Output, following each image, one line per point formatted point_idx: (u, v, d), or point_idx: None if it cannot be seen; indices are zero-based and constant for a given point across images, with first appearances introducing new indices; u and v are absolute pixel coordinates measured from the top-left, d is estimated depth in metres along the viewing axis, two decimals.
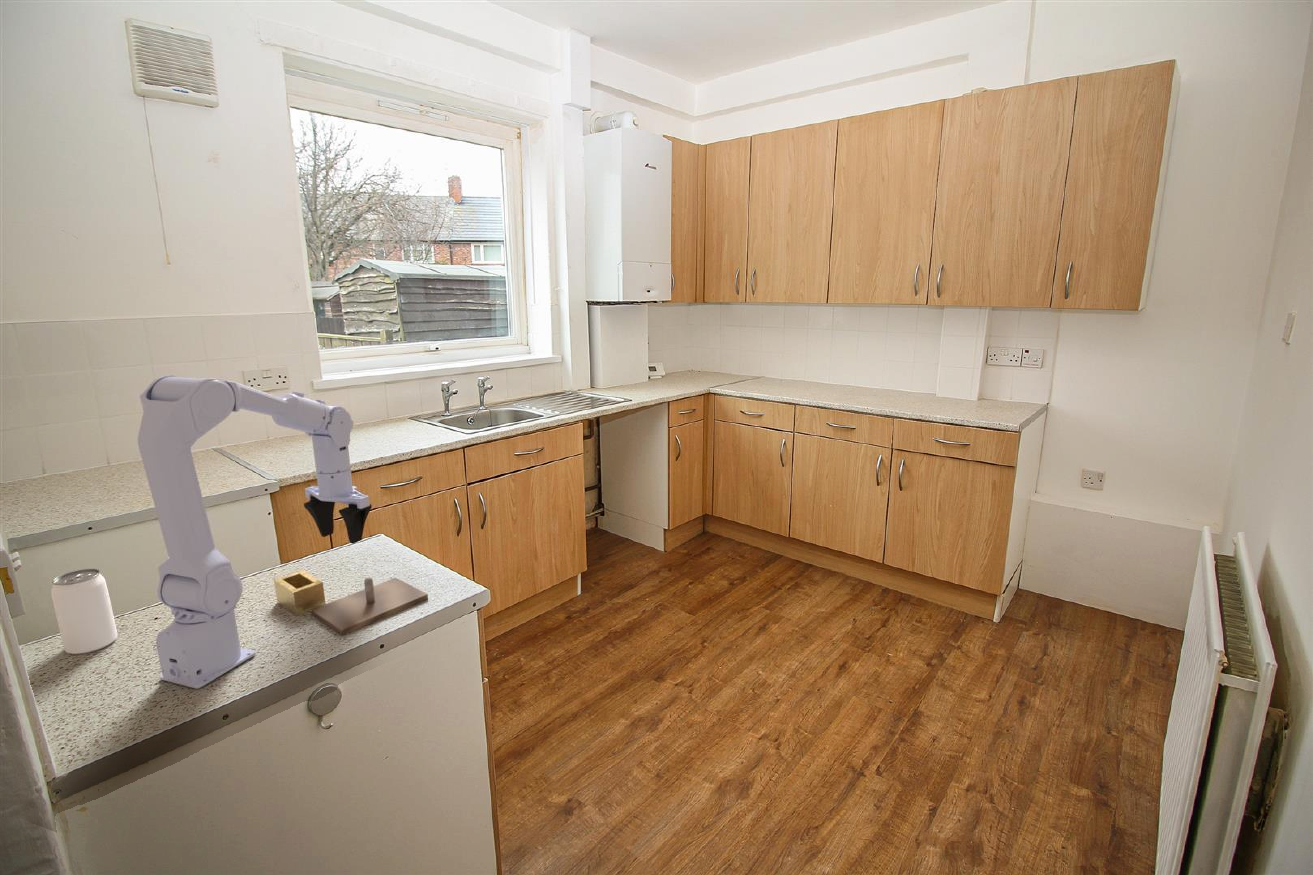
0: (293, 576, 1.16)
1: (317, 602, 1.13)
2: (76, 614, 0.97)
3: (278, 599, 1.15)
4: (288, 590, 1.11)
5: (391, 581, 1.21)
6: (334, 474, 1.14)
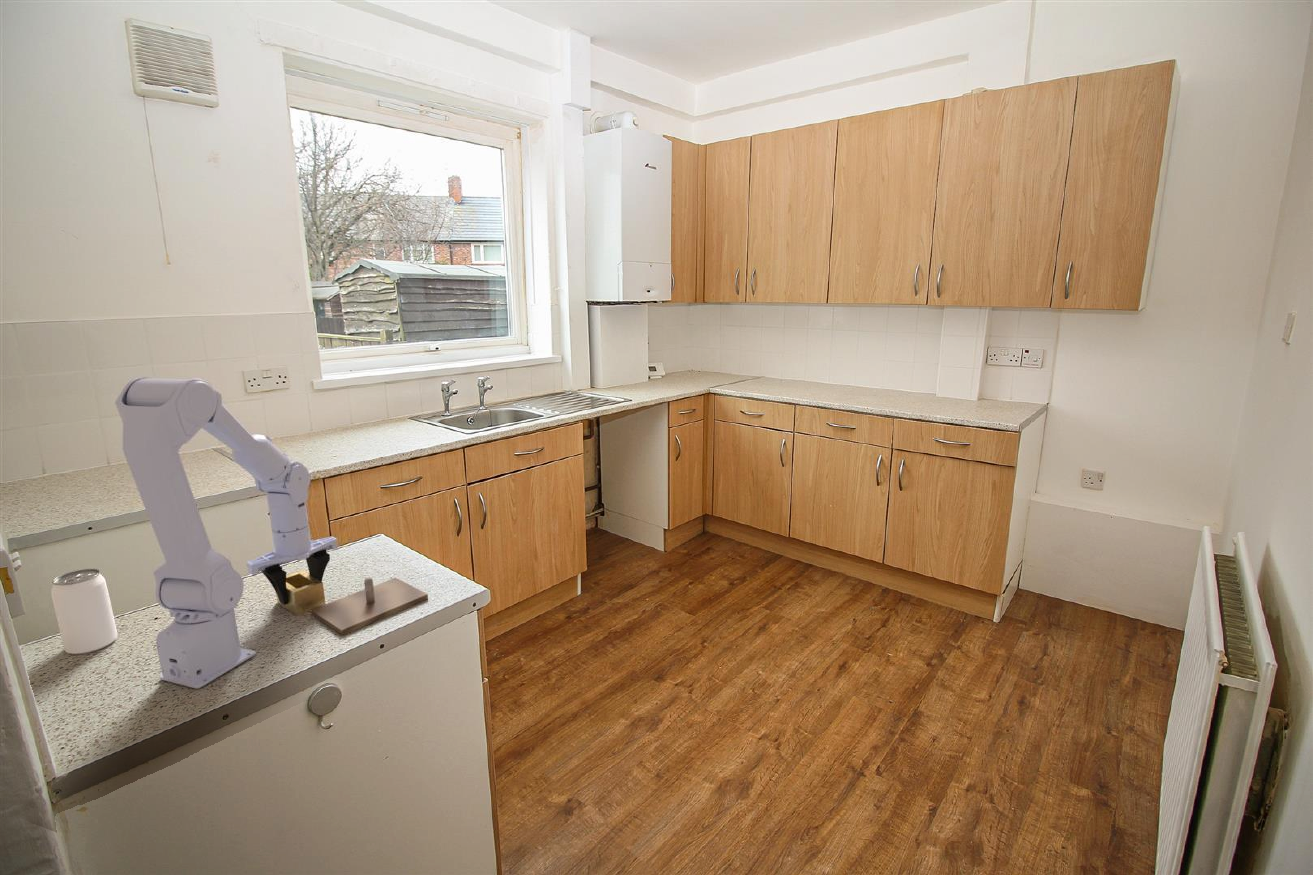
0: (293, 576, 1.16)
1: (317, 602, 1.13)
2: (76, 614, 0.97)
3: (278, 599, 1.15)
4: (288, 590, 1.11)
5: (391, 581, 1.21)
6: None
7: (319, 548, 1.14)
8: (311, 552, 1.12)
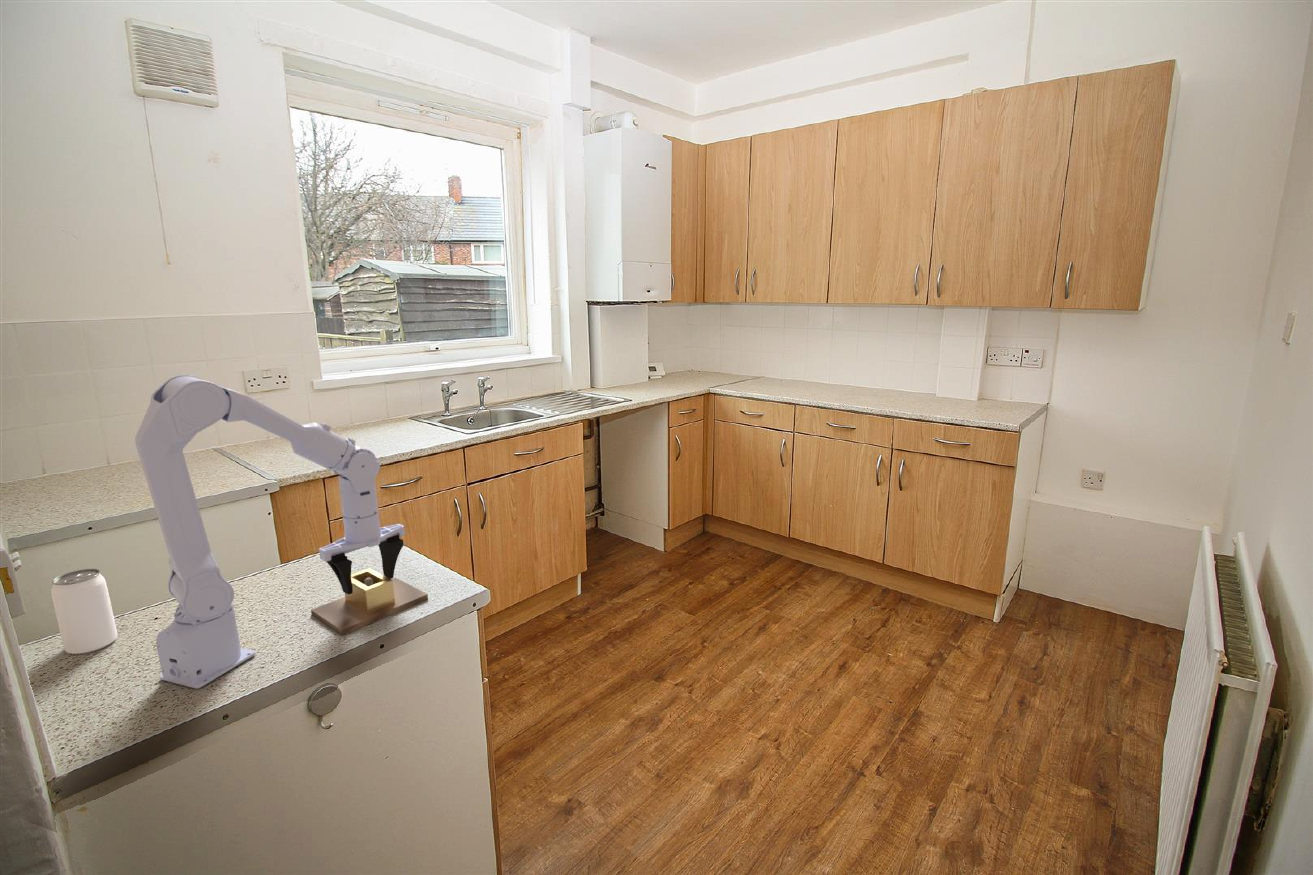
0: (361, 574, 1.15)
1: (387, 600, 1.12)
2: (76, 614, 0.97)
3: (347, 597, 1.13)
4: (359, 588, 1.09)
5: None
6: None
7: (388, 535, 1.12)
8: (381, 539, 1.11)
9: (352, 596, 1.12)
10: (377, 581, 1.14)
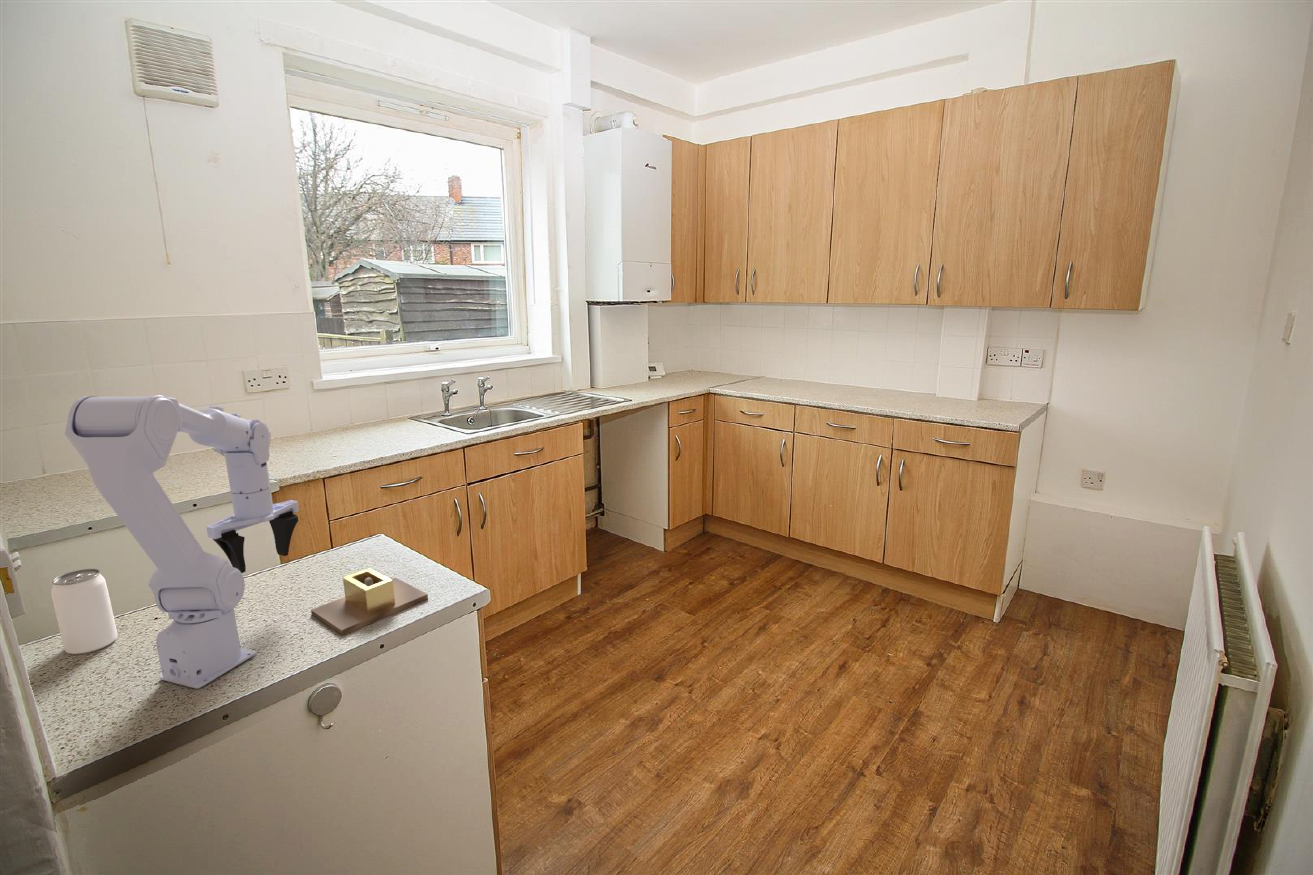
0: (361, 574, 1.15)
1: (387, 600, 1.12)
2: (76, 614, 0.97)
3: (347, 597, 1.13)
4: (359, 588, 1.09)
5: None
6: None
7: (281, 511, 1.10)
8: (274, 514, 1.08)
9: (352, 596, 1.12)
10: (377, 581, 1.14)
